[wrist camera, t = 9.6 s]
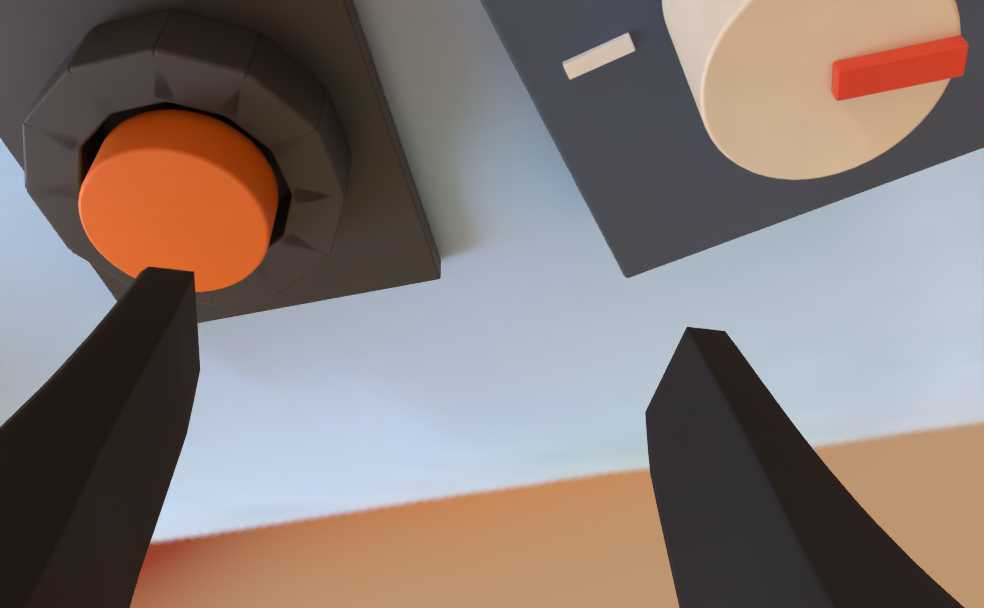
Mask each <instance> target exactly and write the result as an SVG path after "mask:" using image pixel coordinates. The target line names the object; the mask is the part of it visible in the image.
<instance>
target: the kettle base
mask: <svg viewBox="0 0 984 608" xmlns="http://www.w3.org/2000/svg"><path fill="white" fill-rule="evenodd" d="M163 109H177V110H187V111H192V112H197V113H201V114H204V115H208V116H211V117H213V118H216V119H218V120H220V121H223V122H225V123H226V124H228V125H230V126H232V127H234V128H235V129H237V130H238V131H240V132H241V133H243V134H244V135H245V136H246V137H247V138H249V139H250V140H251V141H252V142H253V143H254V144H255V145H256V146H257V147H258V148H259V149H260V150H261V152H262V153H263V154H264V156H265V157H266V159H267V160H268V162H269V164H270V166H271V167H272V169H273V172H274V174H275V177H276V180H277V185H278V192H279V200H278V208H277V212H276V216H275V221H274V225H273V229H272V234H271V238H270V242H269V246H268V249H267V253H266V255H265V257H264V259H263V261H262V262H261V263H260V265H259V266H258V267H257V268H256V269H255V270H254V271H253V272H252V273H251V274H250V275H249V276H247V277H246V278H244V279H243V280H241V281H239V282H237V283H236V284H234V285H231V286H228V287H225V288H222V289H218V290H213V291H206V292H195V293H196V309H197V323H201V322H206V321H211V320H217V319H222V318H228V317H233V316H239V315H244V314H250V313H255V312H261V311H266V310H272V309H277V308H283V307H288V306H294V305H299V304H305V303H310V302H316V301H321V300H327V299H332V298H338V297H343V296H349V295H354V294H359V293H365V292H370V291H376V290H381V289H387V288H392V287H398V286H403V285H409V284H414V283H420V282H425V281H431V280H436V279H440V277H441V260H440V257H439V254H438V251H437V248H436V245H435V242H434V239H433V236H432V233H431V230H430V227H429V224H428V221H427V219H426V216H425V213H424V210H423V207H422V204H421V201H420V198H419V195H418V192H417V189H416V186H415V183H414V180H413V177H412V174H411V171H410V168H409V166H408V163H407V160H406V157H405V154H404V151H403V148H402V145H401V142H400V139H399V136H398V133H397V130H396V127H395V124H394V121H393V118H392V116H391V113H390V110H389V107H388V104H387V101H386V98H385V95H384V92H383V89H382V86H381V83H380V80H379V77H378V74H377V71H376V68H375V65H374V63H373V60H372V57H371V54H370V51H369V48H368V45H367V42H366V39H365V36H364V33H363V30H362V27H361V24H360V21H359V18H358V15H357V12H356V10H355V7H354V4H353V1H352V0H0V138H1V139H2V141H3V142H4V144H5V145H6V146H7V148H8V149H9V151H10V152H11V153H12V155H13V156H14V158H15V159H16V160H17V162H18V163H19V165H20V166H21V167H22V169H23V170H24V172H25V188H26V189H27V192H28V194H29V195H30V196H31V198H32V199H33V201H34V202H35V203H36V205H37V206H38V207H39V209H40V210H41V212H42V213H43V214H44V216H45V217H46V218H47V220H48V221H49V223H50V224H51V225H52V227H53V228H54V229H55V231H56V232H57V234H58V235H59V236H60V238H61V239H62V240H63V242H64V243H65V245H66V246H67V247H68V248H69V249H71V251H72V252H73V253H75V254H77V255H78V256H80V257H82V258H83V259H85V260H87V261H88V262H90V264H91V265H92V267H93V268H94V269H95V271H96V272H97V274H98V275H99V276H100V278H101V279H102V281H103V282H104V283H105V285H106V286H107V287H108V289H109V290H110V292H111V293H112V294H113V296H114V297H115V299H116V300H117V301H118V300H119V299H120V298H121V297H122V295H123V294H124V293H125V292H126V290H127V289H128V288H129V286H130V285H131V284H132V283H133V281H134V280H135V279H136V278H134V277H132V276H130V275H128V274H126V273H125V272H123V271H122V270H120V269H119V268H117V267H116V266H114V265H113V264H112V263H111V262H109V261H108V260H107V259H106V258H105V257H104V256H103V255H102V254H101V253H100V252H99V251H98V250H97V249H96V248H95V246H94V245H93V244H92V242H91V241H90V239H89V238H88V236H87V234H86V232H85V230H84V228H83V225H82V223H81V219H80V215H79V207H78V200H79V192H80V189H81V185H82V183H83V181H84V179H85V177H86V175H87V173H88V171H89V169H90V167H91V165H92V163H93V162H94V160H95V158H96V156H97V154H98V152H99V150H100V148H101V146H102V144H103V142H104V140H105V138H106V137H107V136H108V135H109V133H110V132H111V131H112V130H113V129H114V128H115V127H116V126H118V125H119V124H120V123H122V122H124V121H125V120H127V119H129V118H131V117H133V116H136V115H138V114H141V113H145V112H148V111H154V110H163Z"/></svg>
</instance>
